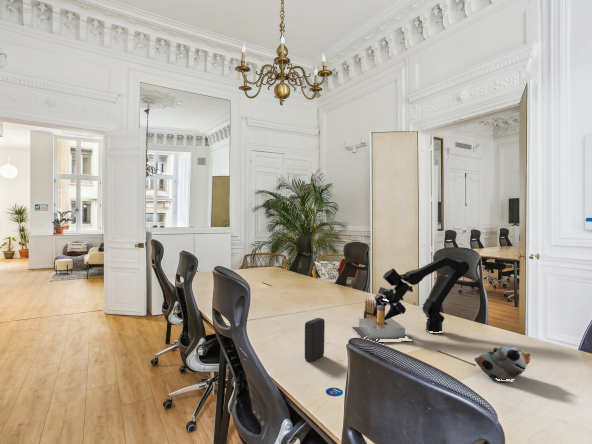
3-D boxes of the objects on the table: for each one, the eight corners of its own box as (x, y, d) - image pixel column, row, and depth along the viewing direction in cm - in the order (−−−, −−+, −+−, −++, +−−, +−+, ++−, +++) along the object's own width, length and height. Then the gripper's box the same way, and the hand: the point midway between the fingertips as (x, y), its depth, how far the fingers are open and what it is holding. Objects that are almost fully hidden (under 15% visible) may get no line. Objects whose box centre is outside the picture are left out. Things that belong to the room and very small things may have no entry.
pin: (385, 332, 163) (385, 305, 163) (384, 335, 160) (384, 307, 160) (377, 331, 165) (377, 305, 165) (376, 334, 161) (376, 306, 161)
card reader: (317, 353, 138) (317, 316, 138) (325, 355, 136) (325, 318, 136) (303, 360, 131) (303, 321, 131) (311, 363, 129) (312, 323, 129)
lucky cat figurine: (498, 365, 128) (520, 337, 123) (521, 392, 117) (546, 363, 113) (467, 357, 124) (488, 328, 120) (487, 384, 113) (512, 354, 109)
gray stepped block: (393, 326, 174) (393, 316, 174) (413, 341, 153) (413, 329, 153) (351, 328, 172) (352, 317, 172) (366, 343, 150) (366, 331, 150)
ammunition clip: (363, 320, 186) (363, 298, 186) (365, 319, 187) (366, 298, 187) (378, 325, 177) (378, 302, 177) (381, 324, 178) (381, 301, 178)
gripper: (377, 278, 172) (358, 301, 169) (400, 284, 155) (379, 310, 151) (390, 292, 175) (372, 315, 171) (414, 300, 157) (394, 326, 154)
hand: (378, 316), depth 162 cm, fingers open, 9 cm apart
